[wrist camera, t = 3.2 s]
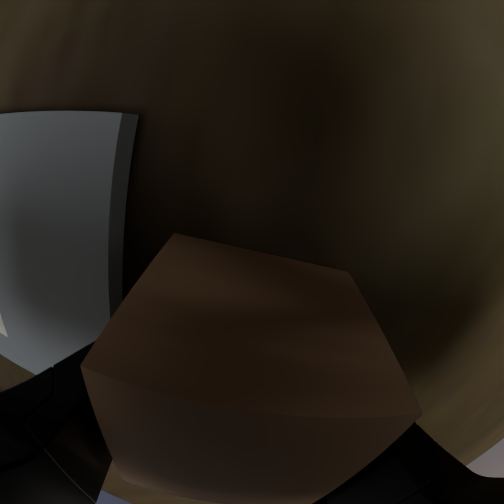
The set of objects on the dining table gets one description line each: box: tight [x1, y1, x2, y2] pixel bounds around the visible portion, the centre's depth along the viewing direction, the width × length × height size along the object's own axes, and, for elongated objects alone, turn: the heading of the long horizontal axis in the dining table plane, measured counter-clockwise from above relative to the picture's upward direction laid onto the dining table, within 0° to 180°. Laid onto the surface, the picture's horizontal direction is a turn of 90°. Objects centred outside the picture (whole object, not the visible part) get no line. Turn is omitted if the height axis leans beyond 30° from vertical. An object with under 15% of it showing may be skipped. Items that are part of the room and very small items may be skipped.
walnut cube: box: [80, 233, 422, 504], centre depth 6 cm, size 5×5×5 cm
